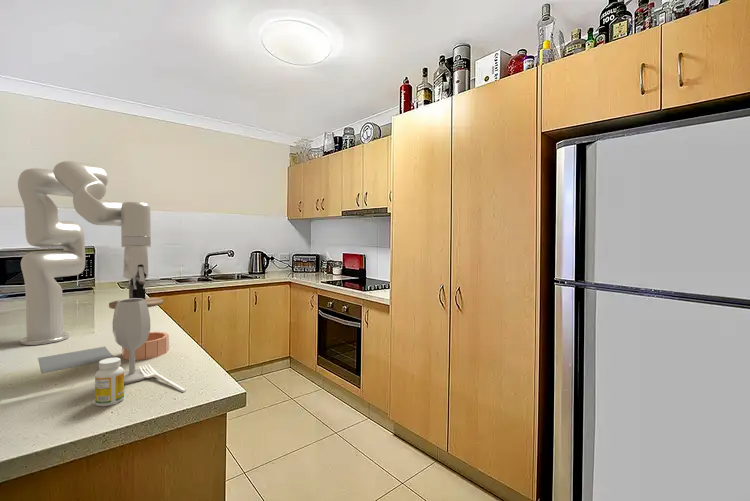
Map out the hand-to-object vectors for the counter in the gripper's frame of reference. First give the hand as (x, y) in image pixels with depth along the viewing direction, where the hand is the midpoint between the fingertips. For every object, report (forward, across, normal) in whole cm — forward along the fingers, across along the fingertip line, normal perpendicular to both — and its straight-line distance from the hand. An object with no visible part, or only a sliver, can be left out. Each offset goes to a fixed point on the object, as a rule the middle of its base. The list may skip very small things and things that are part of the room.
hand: (137, 300), depth 110 cm
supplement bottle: (+18, +30, -12) cm, 37 cm away
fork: (+18, +26, 0) cm, 32 cm away
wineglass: (+18, +18, -5) cm, 26 cm away
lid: (+1, 0, 0) cm, 1 cm away
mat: (+18, -7, -14) cm, 24 cm away
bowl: (+18, +1, +2) cm, 18 cm away
